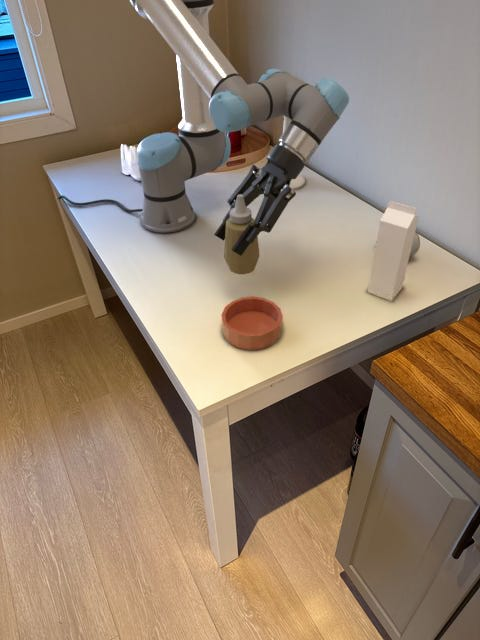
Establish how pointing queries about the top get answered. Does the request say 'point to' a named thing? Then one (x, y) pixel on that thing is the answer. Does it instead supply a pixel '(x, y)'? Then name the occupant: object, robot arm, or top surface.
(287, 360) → the top surface
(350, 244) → the top surface
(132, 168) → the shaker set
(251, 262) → the squeeze bottle
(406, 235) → the milk
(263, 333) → the holder
